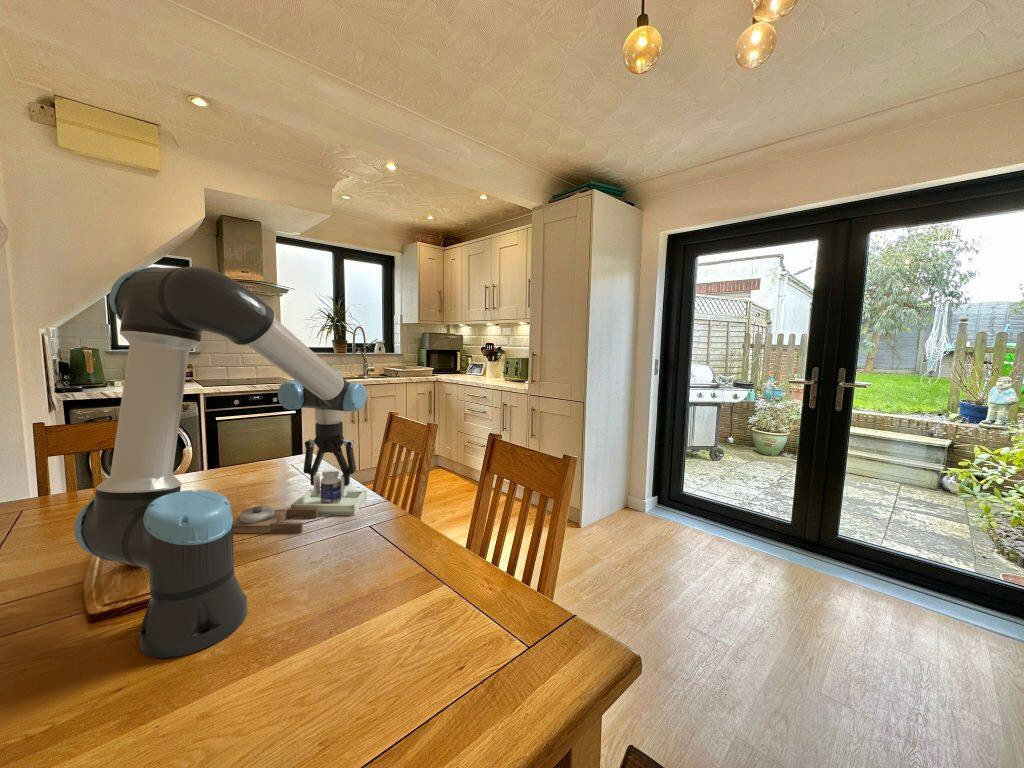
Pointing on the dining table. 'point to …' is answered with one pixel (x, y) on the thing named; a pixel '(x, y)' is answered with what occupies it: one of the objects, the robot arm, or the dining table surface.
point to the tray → (344, 508)
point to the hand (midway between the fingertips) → (330, 495)
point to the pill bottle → (330, 487)
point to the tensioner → (271, 520)
